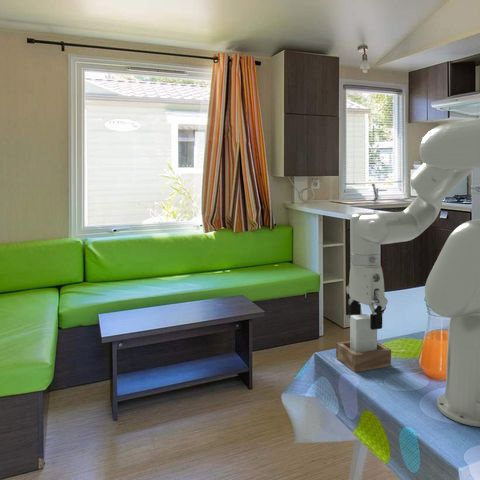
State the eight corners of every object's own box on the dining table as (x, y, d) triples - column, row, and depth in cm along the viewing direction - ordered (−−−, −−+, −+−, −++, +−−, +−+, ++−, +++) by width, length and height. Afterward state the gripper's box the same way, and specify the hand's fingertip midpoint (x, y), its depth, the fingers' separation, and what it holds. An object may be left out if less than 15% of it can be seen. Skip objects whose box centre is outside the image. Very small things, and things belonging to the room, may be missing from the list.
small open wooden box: (390, 366, 115) (391, 349, 114) (354, 372, 111) (355, 355, 111) (369, 353, 124) (370, 337, 123) (335, 358, 120) (336, 342, 120)
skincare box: (369, 355, 120) (370, 313, 118) (377, 361, 116) (378, 317, 114) (349, 357, 119) (349, 314, 117) (355, 363, 115) (356, 319, 113)
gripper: (398, 263, 107) (398, 331, 108) (359, 254, 123) (359, 313, 125) (372, 266, 104) (372, 335, 106) (335, 256, 121) (336, 316, 123)
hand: (365, 323), depth 115 cm, fingers open, 9 cm apart
